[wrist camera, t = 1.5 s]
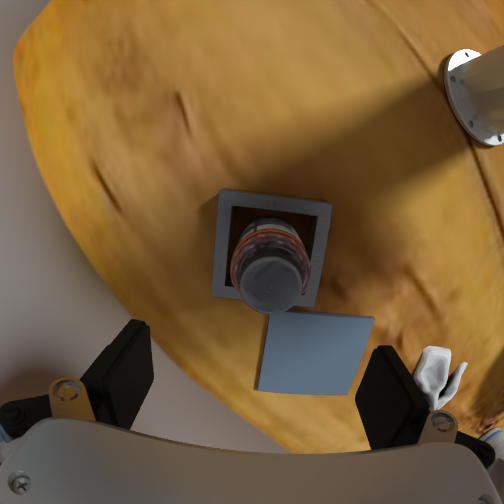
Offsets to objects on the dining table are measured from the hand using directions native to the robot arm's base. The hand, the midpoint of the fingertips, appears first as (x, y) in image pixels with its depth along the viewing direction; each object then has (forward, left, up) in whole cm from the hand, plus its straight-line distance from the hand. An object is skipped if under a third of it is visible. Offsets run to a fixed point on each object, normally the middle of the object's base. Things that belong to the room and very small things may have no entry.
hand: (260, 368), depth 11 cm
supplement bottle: (0, 0, -19) cm, 19 cm away
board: (-7, +13, -19) cm, 24 cm away
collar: (0, 0, -19) cm, 19 cm away
